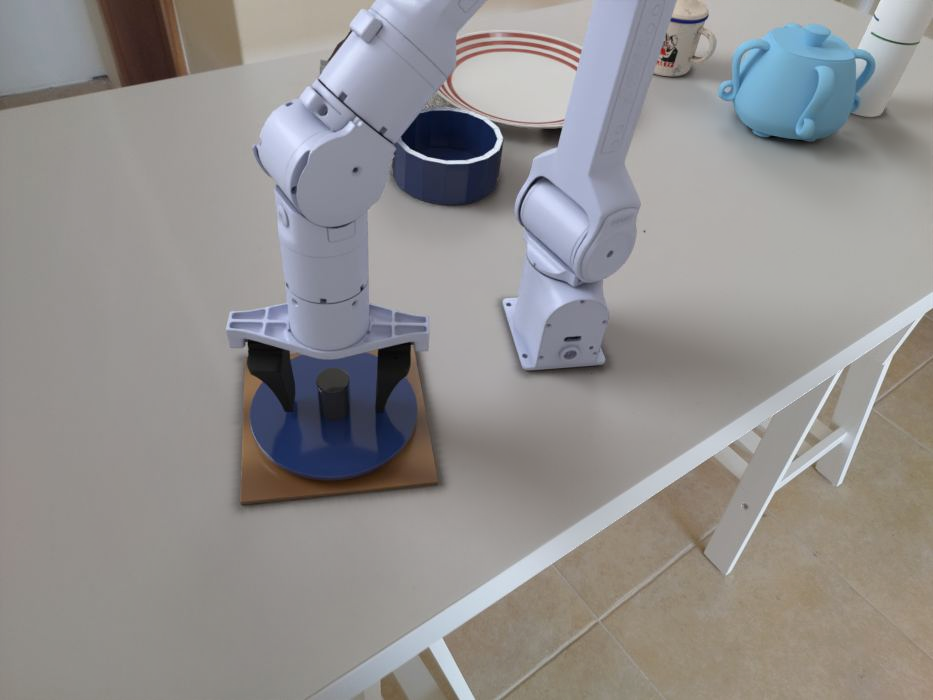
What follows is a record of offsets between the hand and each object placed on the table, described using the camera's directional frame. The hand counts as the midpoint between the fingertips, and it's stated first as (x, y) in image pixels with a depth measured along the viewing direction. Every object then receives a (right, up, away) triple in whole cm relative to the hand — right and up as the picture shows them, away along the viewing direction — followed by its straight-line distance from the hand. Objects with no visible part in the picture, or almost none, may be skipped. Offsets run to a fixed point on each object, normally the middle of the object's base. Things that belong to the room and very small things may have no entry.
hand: (335, 403), depth 60 cm
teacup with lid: (+43, +48, +55) cm, 84 cm away
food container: (-3, +34, +36) cm, 49 cm away
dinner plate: (+18, +41, +45) cm, 63 cm away
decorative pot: (+55, +37, +45) cm, 80 cm away
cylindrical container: (+70, +41, +51) cm, 96 cm away
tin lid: (0, -1, +1) cm, 1 cm away
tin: (+8, +26, +28) cm, 39 cm away
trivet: (0, -1, +1) cm, 2 cm away
